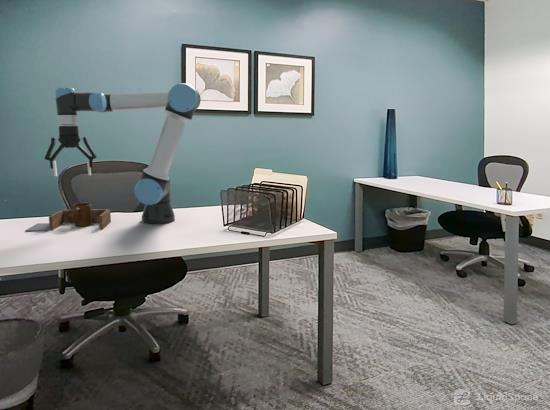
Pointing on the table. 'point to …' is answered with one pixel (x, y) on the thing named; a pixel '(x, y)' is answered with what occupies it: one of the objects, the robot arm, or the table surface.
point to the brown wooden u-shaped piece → (67, 217)
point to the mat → (39, 227)
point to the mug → (82, 214)
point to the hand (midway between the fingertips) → (72, 175)
